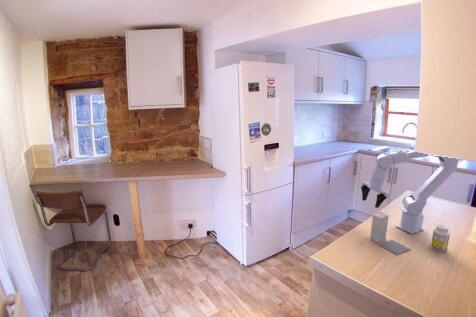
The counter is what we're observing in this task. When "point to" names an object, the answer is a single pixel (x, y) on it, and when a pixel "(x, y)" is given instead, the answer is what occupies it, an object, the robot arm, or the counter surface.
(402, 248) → the mat
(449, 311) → the counter surface
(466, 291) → the counter surface
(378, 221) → the skincare box
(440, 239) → the supplement bottle
